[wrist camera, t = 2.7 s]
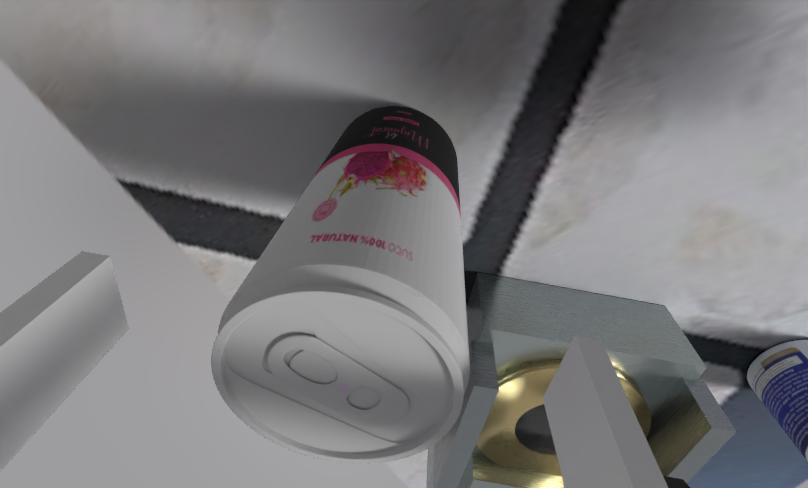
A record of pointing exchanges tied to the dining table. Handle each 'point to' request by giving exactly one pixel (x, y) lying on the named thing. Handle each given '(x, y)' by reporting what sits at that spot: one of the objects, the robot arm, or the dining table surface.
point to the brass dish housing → (535, 368)
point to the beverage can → (357, 303)
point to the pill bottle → (784, 388)
